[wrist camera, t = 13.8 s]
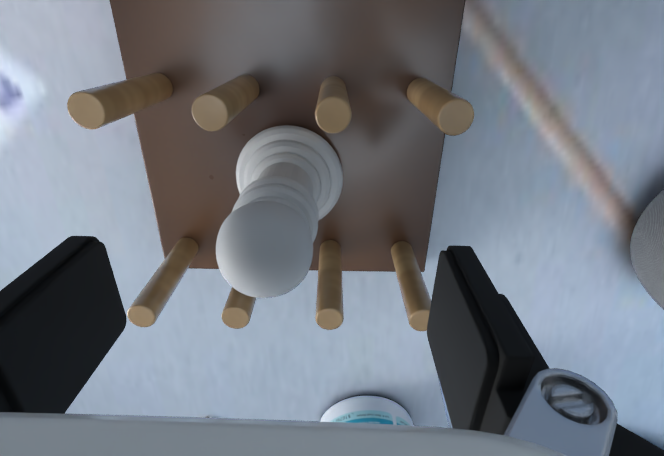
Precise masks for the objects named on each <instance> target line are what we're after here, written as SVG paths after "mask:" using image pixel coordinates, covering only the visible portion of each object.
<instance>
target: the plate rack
mask: <svg viewBox="0 0 664 456" xmlns="http://www.w3.org/2000/svg"><path fill="white" fill-rule="evenodd" d="M110 4H111V9H112V13H113V18H114V23H115V27H116V32H117V37H118V42H119V46H120V51H121V56H122V60H123V65H124V70H125V75H126V79H127V80H124V81H120V82H116V83H111V84H107V85H103V86H99V87H95V88H91V89H87V90H83V91H79V92H75V93H73V94H72V95H71V96H70V98H69V100H68V103H67V108H68V112H69V114H70V116H71V118H72V119H73V120H74V121H75V122H76V123H77V124H78V125H80V126H81V127H84V128H87V129H97V128H100V127H102V126H105V125H107V124H109V123H112V122H114V121H116V120H119V119H121V118H124V117H126V116H128V115H131V114H133V113H134V117H135V122H136V126H137V131H138V136H139V140H140V145H141V150H142V155H143V159H144V164H145V169H146V173H147V178H148V183H149V187H150V192H151V197H152V202H153V206H154V211H155V216H156V220H157V225H158V230H159V235H160V239H161V244H162V249H163V253H164V258H165V260H164V261H163V263H162V264H161V265H160V267H159V268H158V269H157V271H156V272H155V273H154V275H153V276H152V278H151V279H150V280H149V282H148V283H147V284H146V286H145V287H144V288H143V290H142V291H141V293H140V294H139V295H138V297H137V298H136V299H135V301H134V302H133V304H132V305H131V306H130V308H129V309H128V311H127V316H128V319H129V320H130V321H131V322H132V323H133V324H135V325H137V326H140V327H148V326H151V325H153V324H154V323H155V321H156V320H157V318H158V316H159V315H160V313H161V311H162V310H163V308H164V306H165V305H166V303H167V301H168V300H169V298H170V297H171V295H172V293H173V292H174V290H175V288H176V287H177V285H178V283H179V282H180V280H181V278H182V277H183V275H184V274H185V272H186V270H187V269H188V268H203V269H219V267H218V263H217V259H216V241H217V236H218V233H219V230H220V227H221V225H222V224H223V222H224V221H225V219H226V218H227V217H228V216H229V215H230V214H231V213H232V210H233V207H234V205H235V203H236V201H237V200H238V198H239V196H240V193H239V190H238V187H237V182H236V166H237V161H238V158H239V155H240V153H241V151H242V149H243V148H244V146H245V145H246V144H247V142H248V141H249V140H250V139H251V138H253V137H254V136H255V135H257V134H258V133H260V132H262V131H263V130H266V129H268V128H271V127H276V126H283V125H290V126H298V127H302V128H305V129H308V130H310V131H312V132H315V133H316V134H318V135H319V136H321V137H322V138H323V139H324V140H326V141H327V142H328V143H329V145H330V146H331V147H332V148H333V150H334V151H335V152H336V154H337V156H338V158H339V161H340V164H341V167H342V172H343V186H342V190H341V194H340V196H339V199H338V201H337V202H336V204H335V205H334V207H333V208H332V210H331V211H330V212H329V213H328V214H327V215H326V216H324V217H323V218H322V219H320V220H319V221H318V230H317V235H316V238H315V240H314V242H313V257H312V262H311V265H310V268H309V270H318V285H317V301H316V322H317V324H318V325H319V326H320V327H321V328H323V329H327V330H332V329H336V328H338V327H339V326H340V325H341V324H342V322H343V319H344V318H343V290H342V271H391V272H396V274H397V278H398V282H399V286H400V290H401V294H402V297H403V301H404V305H405V309H406V313H407V317H408V320H409V324H410V326H411V327H412V328H413V329H415V330H417V331H426V330H427V324H428V318H429V312H430V307H431V299H430V296H429V293H428V291H427V288H426V285H425V282H424V280H423V277H422V274H421V272H424V270H425V263H426V256H427V250H428V243H429V237H430V230H431V223H432V217H433V210H434V204H435V197H436V190H437V184H438V177H439V171H440V164H441V157H442V151H443V144H444V138H445V134H447V135H451V136H455V135H459V134H462V133H463V132H465V131H466V130H467V129H468V128H469V127H470V126H471V124H472V122H473V119H474V110H473V107H472V105H471V104H470V103H469V102H468V101H467V100H465V99H463V98H461V97H459V96H457V95H456V94H454V93H452V92H451V91H452V85H453V78H454V72H455V65H456V58H457V52H458V45H459V38H460V32H461V25H462V19H463V12H464V5H465V0H110ZM255 300H256V297H251V296H248V295H245V294H243V293H240V292H239V291H237V290H235V289H234V288H233V287H232V289H231V291H230V294H229V297H228V299H227V302H226V304H225V307H224V309H223V312H222V320H223V322H224V323H225V324H226V325H227V326H229V327H231V328H235V329H239V328H243V327H245V326H246V325H247V324H248V323H249V321H250V317H251V314H252V310H253V307H254V303H255Z"/></svg>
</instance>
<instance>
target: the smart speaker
mask: <svg viewBox="0 0 664 456" xmlns="http://www.w3.org/2000/svg"><path fill="white" fill-rule="evenodd" d="M630 254H631V261H632V265H633V268H634V270H635V273H636V275H637V277H638V279H639V281H640V282H641V284H642V285H643V287H644V288H645V289H646V291H647V292H648V294H649V295H650V296H651V297H652V298H653V299H654V300H655V302H656V303H657V304H658V305H659V306H660V307H661V308H663V309H664V189H663V190H662V191H661V192H660V193H659V194H658V195H657V196H656V197H655V198H654V199H653V200H652V201H651V202H650V203H649V204H648V206H647V207H646V208H645V210H644V211H643V212H642V214H641V215H640V217H639V219H638V221H637V223H636V225H635V227H634V230H633V233H632V237H631V243H630Z"/></svg>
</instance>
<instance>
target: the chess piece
mask: <svg viewBox="0 0 664 456" xmlns="http://www.w3.org/2000/svg"><path fill="white" fill-rule="evenodd" d="M236 182H237V187H238V190H239V193H240V196H239V198H238V200H237V201H236V203H235V205H234V207H233V210H232V213H231V214H230V215H229V216H228V217H227V218H226V219H225V221H224V222H223V224H222V225H221V227H220V230H219V233H218V236H217V241H216V259H217V263H218V267H219V269H220V272H221V274H222V275H223V277H224V279H225V280H226V281H227V282H228V283H229V285H231V286H232V287H233V288H234V289H235V290H237V291H239V292H240V293H243V294H245V295H248V296H251V297H256V298H272V297H277V296H280V295H283V294H285V293H288V292H289V291H291V290H293V289H294V288H295V287H297V286H298V285H299V284H300V283H301V282H302V280H303V279H304V278H305V276H306V275H307V273H308V271H309V268H310V265H311V262H312V257H313V242H314V240H315V238H316V235H317V230H318V221H319V220H320V219H322V218H323V217H324V216H326V215H327V214H328V213H329V212H330V211H331V210H332V208H333V207H334V205H335V204H336V202H337V201H338V199H339V196H340V194H341V190H342V186H343V172H342V167H341V164H340V161H339V158H338V156H337V154H336V152H335V151H334V150H333V148H332V147H331V146H330V145H329V143H328V142H327V141H326V140H324V139H323V138H322V137H321V136H319V135H318V134H316V133H315V132H312V131H310V130H308V129H305V128H302V127H298V126H290V125H283V126H276V127H271V128H268V129H266V130H263V131H262V132H260V133H258V134H257V135H255V136H254V137H253V138H251V139H250V140H249V141H248V142H247V144H246V145H245V146H244V148H243V149H242V151H241V153H240V155H239V158H238V161H237V166H236Z"/></svg>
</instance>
